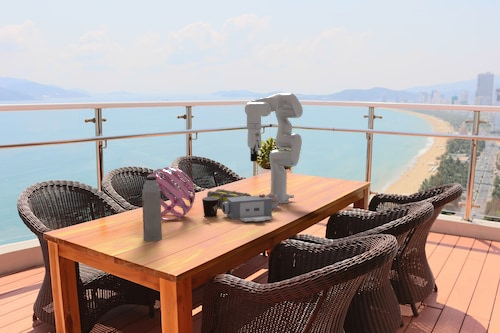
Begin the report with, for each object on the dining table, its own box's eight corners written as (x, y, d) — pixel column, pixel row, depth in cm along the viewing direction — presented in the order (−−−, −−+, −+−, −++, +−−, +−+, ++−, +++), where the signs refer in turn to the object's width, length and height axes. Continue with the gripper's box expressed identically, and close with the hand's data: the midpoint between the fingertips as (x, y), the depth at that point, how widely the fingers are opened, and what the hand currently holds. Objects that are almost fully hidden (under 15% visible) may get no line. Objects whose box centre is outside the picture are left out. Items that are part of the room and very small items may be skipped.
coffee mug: (206, 219, 241) (205, 200, 240) (199, 216, 249) (199, 197, 248) (226, 217, 247) (226, 198, 245) (219, 213, 254) (219, 195, 253)
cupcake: (270, 206, 271) (270, 189, 269) (282, 209, 264) (282, 191, 263) (259, 209, 264) (259, 191, 263) (271, 212, 258) (271, 194, 256)
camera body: (265, 212, 256) (265, 193, 254) (271, 217, 246) (272, 197, 245) (221, 216, 248) (220, 196, 247) (226, 221, 239) (225, 200, 237)
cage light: (217, 187, 287) (257, 193, 269) (217, 200, 288) (257, 207, 270) (201, 191, 275) (241, 198, 257) (201, 204, 276) (241, 212, 258)
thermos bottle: (142, 241, 206) (140, 178, 201) (145, 236, 213) (142, 175, 209) (160, 241, 206) (159, 178, 202) (162, 235, 214) (161, 175, 210)
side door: (265, 215, 245) (273, 217, 233) (265, 218, 245) (273, 219, 233) (238, 217, 240) (246, 219, 228) (239, 220, 240) (246, 222, 228)
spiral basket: (139, 189, 221) (179, 153, 234) (122, 193, 245) (159, 160, 258) (177, 232, 229) (213, 195, 241) (157, 232, 252) (191, 198, 265)
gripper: (265, 127, 240) (265, 162, 243) (256, 125, 254) (255, 159, 257) (251, 127, 237) (251, 163, 240) (242, 125, 252) (242, 159, 254)
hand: (253, 161), depth 248 cm, fingers closed
